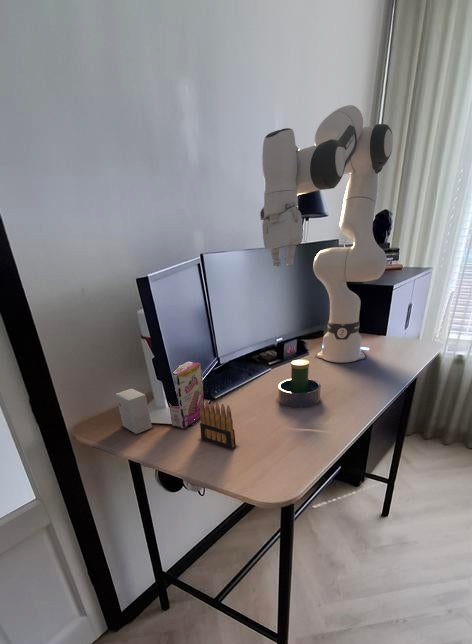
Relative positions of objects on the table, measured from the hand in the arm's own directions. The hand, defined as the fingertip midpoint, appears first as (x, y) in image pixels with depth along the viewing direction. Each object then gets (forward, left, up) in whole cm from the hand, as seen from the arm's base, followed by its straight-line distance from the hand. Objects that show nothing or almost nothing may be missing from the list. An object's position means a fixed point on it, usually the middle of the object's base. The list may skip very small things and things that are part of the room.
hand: (283, 265), depth 113 cm
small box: (+31, -38, -38) cm, 62 cm away
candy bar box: (+24, -24, -39) cm, 51 cm away
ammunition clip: (+36, -11, -39) cm, 54 cm away
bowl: (+4, +6, -38) cm, 39 cm away
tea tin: (+4, +6, -38) cm, 39 cm away
